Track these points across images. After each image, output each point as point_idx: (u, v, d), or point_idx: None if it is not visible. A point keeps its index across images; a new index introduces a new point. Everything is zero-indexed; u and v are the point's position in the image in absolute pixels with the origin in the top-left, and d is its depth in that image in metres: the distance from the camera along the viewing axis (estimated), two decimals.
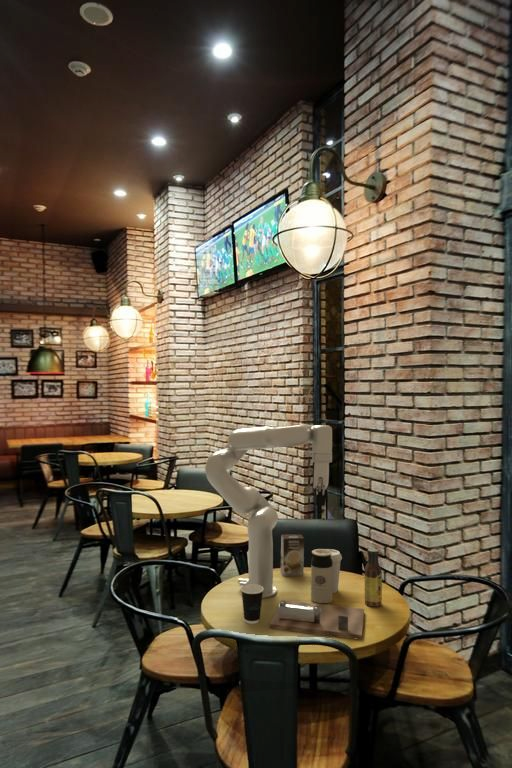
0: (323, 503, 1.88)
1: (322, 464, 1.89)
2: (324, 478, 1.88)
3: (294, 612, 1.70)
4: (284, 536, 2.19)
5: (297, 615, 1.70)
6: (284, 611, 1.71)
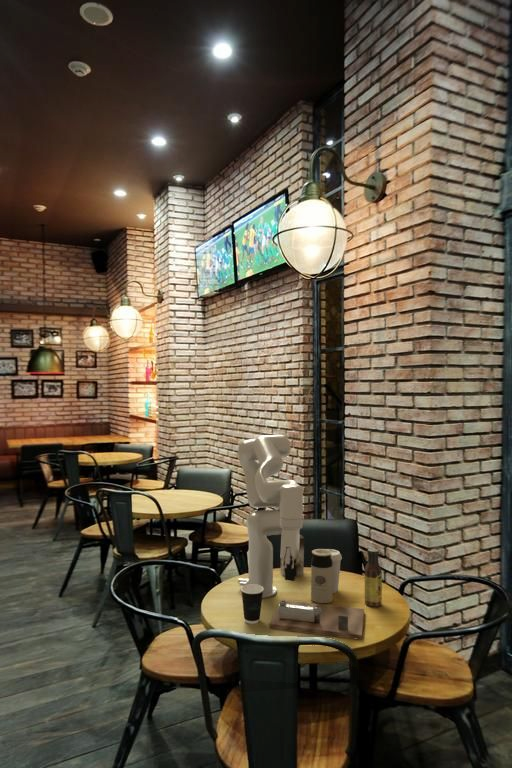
0: (293, 578, 1.65)
1: (290, 531, 1.63)
2: (292, 548, 1.62)
3: (294, 612, 1.70)
4: None
5: (297, 615, 1.70)
6: (284, 611, 1.71)
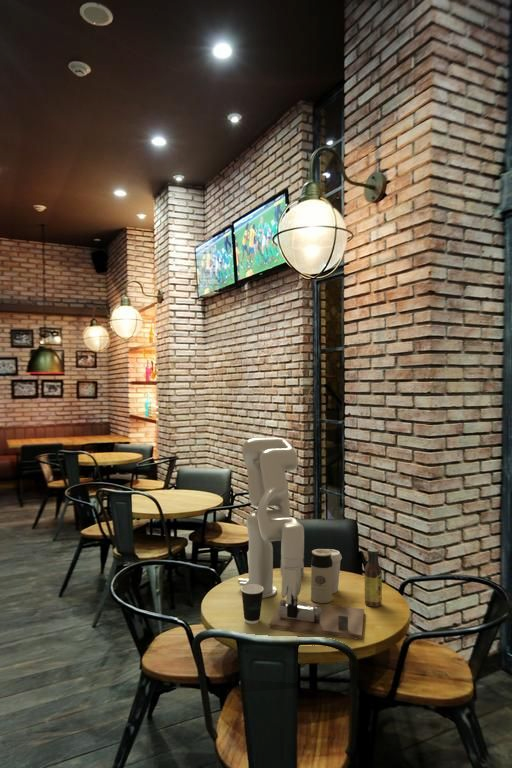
0: (295, 615, 1.68)
1: (291, 571, 1.65)
2: (293, 588, 1.64)
3: None
4: None
5: None
6: (284, 610, 1.72)
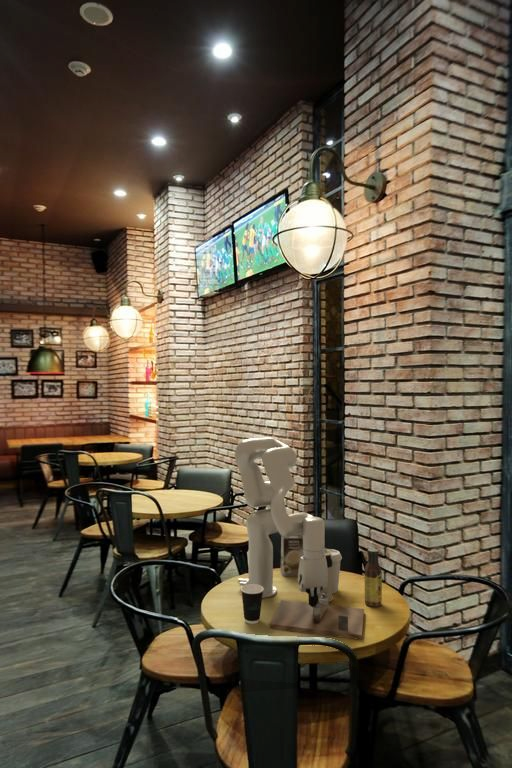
0: (313, 605, 1.76)
1: (303, 561, 1.75)
2: (303, 577, 1.74)
3: None
4: None
5: None
6: None
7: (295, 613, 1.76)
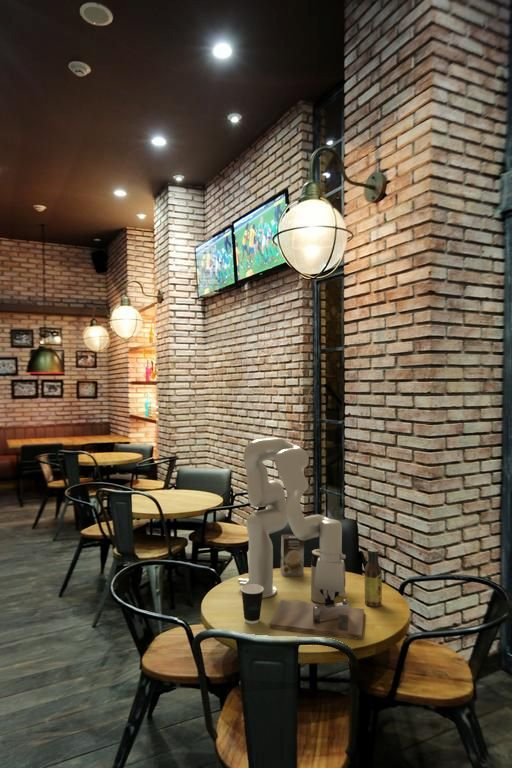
0: None
1: (317, 560, 1.76)
2: (315, 576, 1.76)
3: None
4: (284, 536, 2.19)
5: None
6: None
7: (295, 613, 1.76)
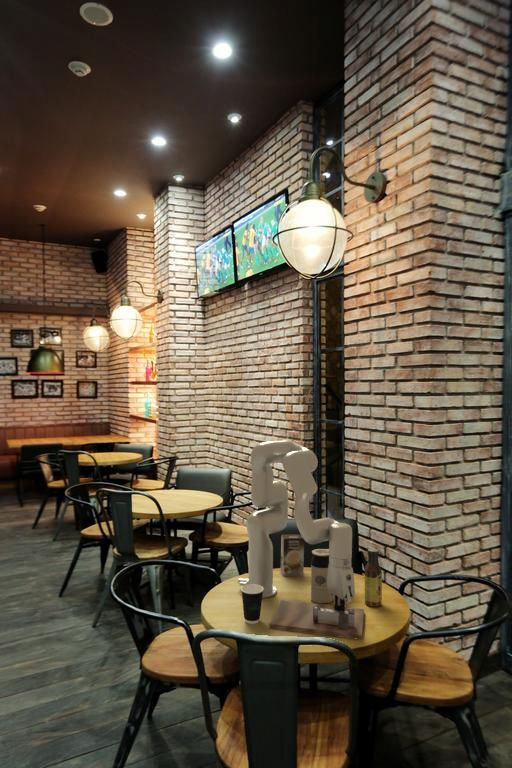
0: None
1: None
2: None
3: None
4: (284, 536, 2.19)
5: None
6: None
7: (295, 613, 1.76)
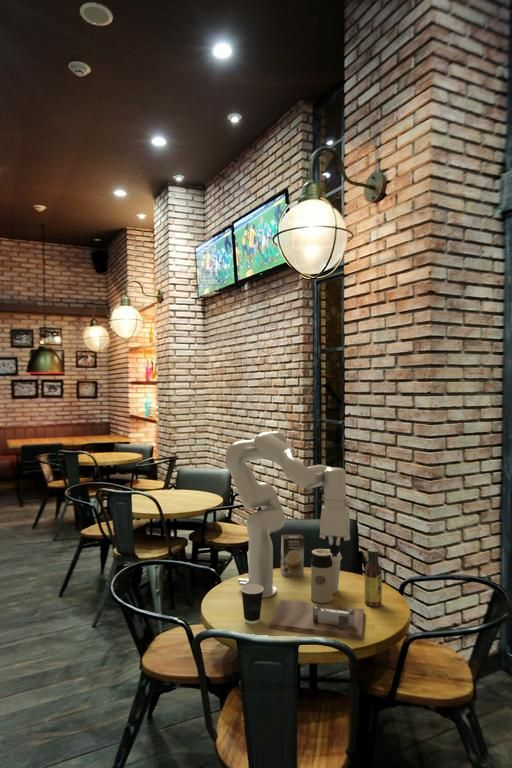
0: (332, 553, 1.77)
1: (322, 508, 1.79)
2: (320, 523, 1.78)
3: None
4: (284, 536, 2.19)
5: None
6: None
7: (295, 613, 1.76)
